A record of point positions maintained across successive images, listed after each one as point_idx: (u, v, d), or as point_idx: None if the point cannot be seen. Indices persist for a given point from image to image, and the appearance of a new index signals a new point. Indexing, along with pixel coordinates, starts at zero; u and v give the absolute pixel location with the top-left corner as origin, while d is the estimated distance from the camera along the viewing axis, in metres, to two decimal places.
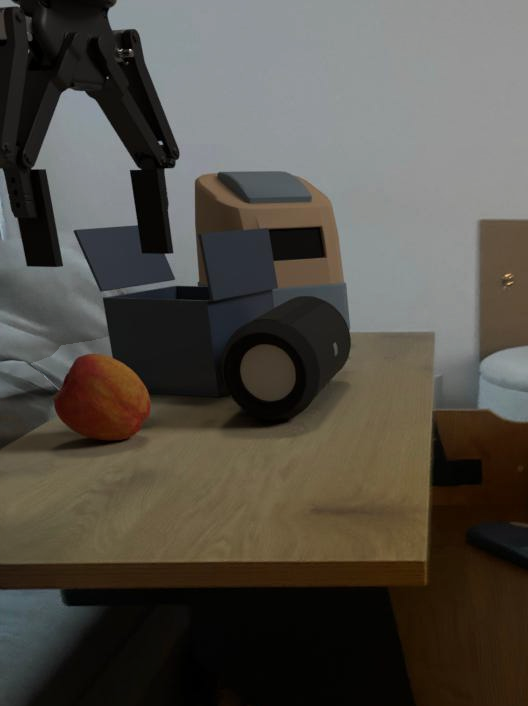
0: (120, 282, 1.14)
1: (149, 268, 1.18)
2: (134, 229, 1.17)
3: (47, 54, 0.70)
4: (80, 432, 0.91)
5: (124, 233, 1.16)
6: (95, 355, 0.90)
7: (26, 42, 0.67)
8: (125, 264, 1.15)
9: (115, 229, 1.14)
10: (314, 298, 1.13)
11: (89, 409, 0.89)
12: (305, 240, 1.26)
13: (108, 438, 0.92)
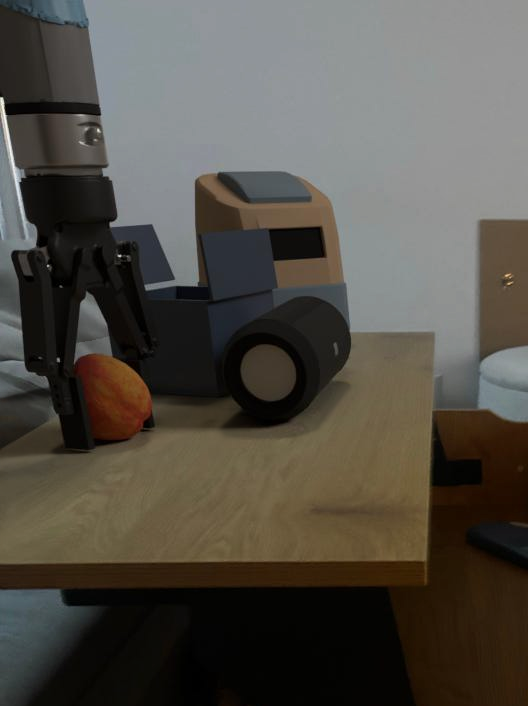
0: None
1: (149, 268, 1.18)
2: (134, 229, 1.17)
3: (60, 268, 0.84)
4: None
5: (124, 233, 1.16)
6: (97, 355, 0.90)
7: (48, 274, 0.82)
8: None
9: (115, 229, 1.14)
10: (314, 298, 1.13)
11: (90, 408, 0.89)
12: (305, 240, 1.26)
13: (109, 438, 0.92)
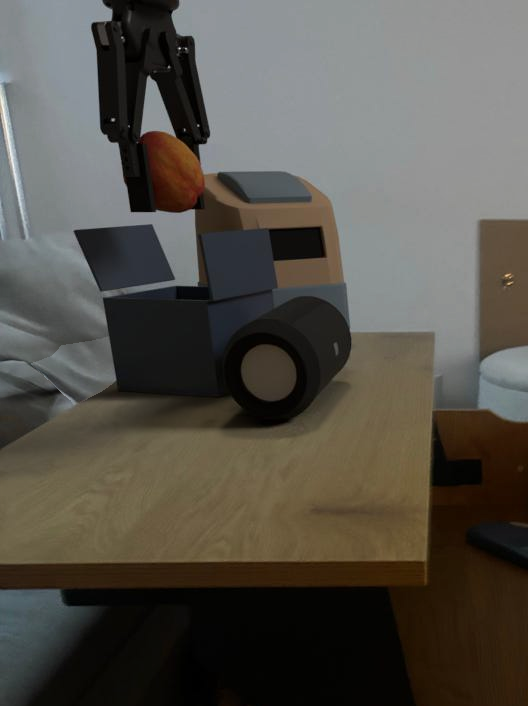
0: (120, 282, 1.14)
1: (149, 268, 1.18)
2: (134, 229, 1.17)
3: (131, 43, 0.98)
4: None
5: (124, 233, 1.16)
6: (159, 131, 1.04)
7: (122, 44, 0.96)
8: (125, 264, 1.15)
9: (115, 229, 1.14)
10: (315, 298, 1.13)
11: (153, 175, 1.03)
12: (305, 240, 1.26)
13: (168, 208, 1.06)
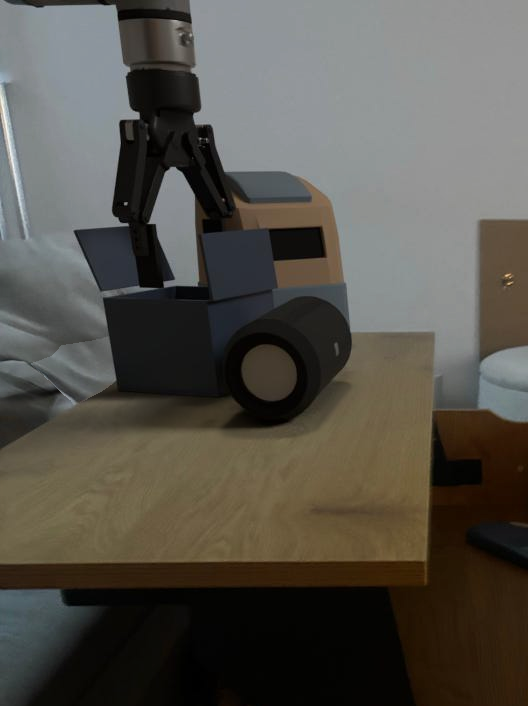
0: (120, 282, 1.14)
1: None
2: None
3: (156, 146, 1.05)
4: None
5: (124, 233, 1.16)
6: None
7: (145, 141, 1.03)
8: (125, 264, 1.15)
9: (115, 229, 1.14)
10: (315, 298, 1.13)
11: None
12: (305, 240, 1.26)
13: None
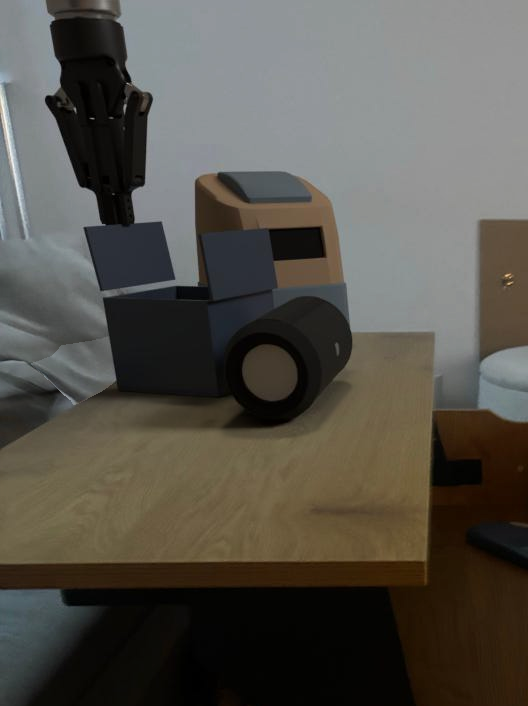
0: (121, 282, 1.14)
1: (152, 268, 1.18)
2: (143, 226, 1.17)
3: (69, 98, 1.09)
4: None
5: (133, 231, 1.15)
6: None
7: (59, 110, 1.10)
8: (129, 263, 1.15)
9: (125, 226, 1.14)
10: (316, 298, 1.13)
11: None
12: (305, 240, 1.26)
13: None
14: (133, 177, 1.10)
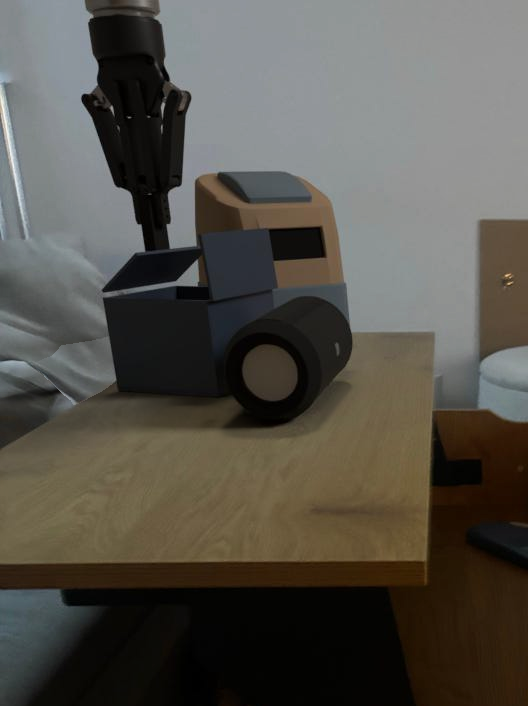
0: (126, 286, 1.14)
1: (164, 276, 1.18)
2: (188, 252, 1.16)
3: (106, 97, 1.08)
4: None
5: (176, 255, 1.15)
6: None
7: (95, 109, 1.08)
8: (147, 275, 1.14)
9: (172, 253, 1.13)
10: (316, 298, 1.13)
11: None
12: (305, 240, 1.26)
13: None
14: (170, 177, 1.09)
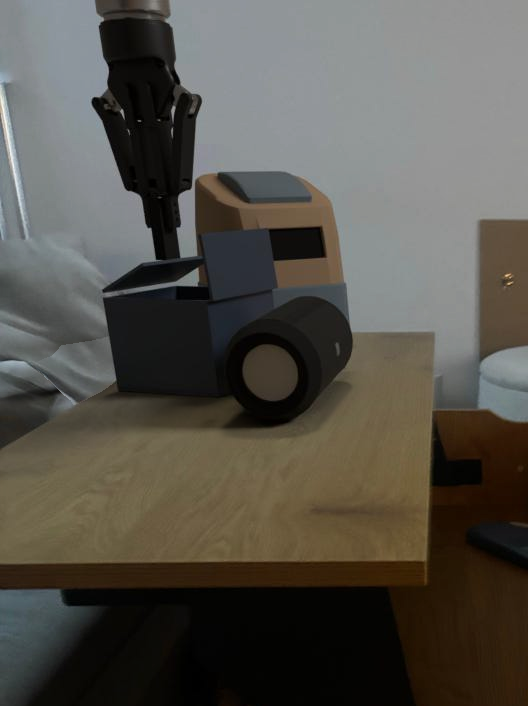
0: (126, 287, 1.14)
1: (165, 278, 1.18)
2: (193, 261, 1.16)
3: (116, 100, 1.08)
4: None
5: (181, 263, 1.15)
6: None
7: (106, 112, 1.08)
8: (149, 278, 1.15)
9: (177, 262, 1.14)
10: (316, 298, 1.13)
11: None
12: (305, 240, 1.26)
13: None
14: (181, 180, 1.09)
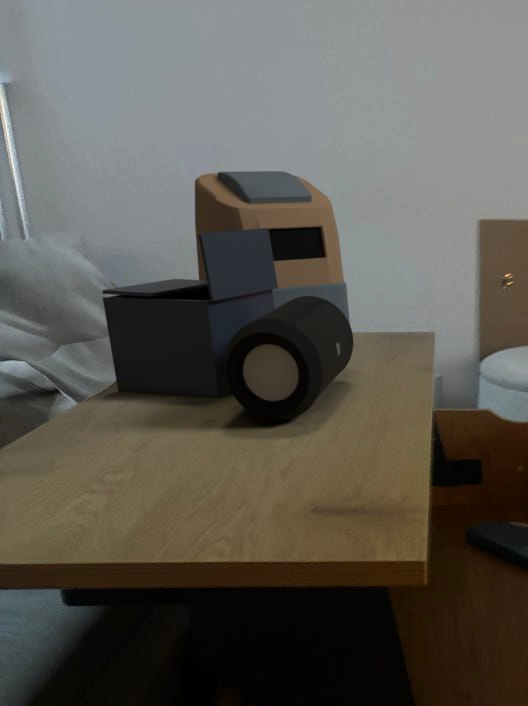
0: None
1: None
2: (201, 287, 1.18)
3: None
4: None
5: None
6: None
7: None
8: None
9: (185, 290, 1.15)
10: (317, 298, 1.13)
11: None
12: (305, 240, 1.26)
13: None
14: None
